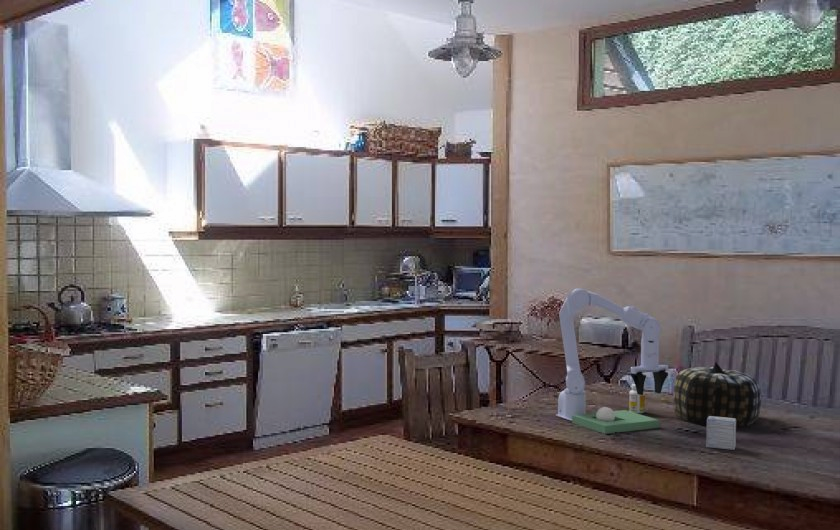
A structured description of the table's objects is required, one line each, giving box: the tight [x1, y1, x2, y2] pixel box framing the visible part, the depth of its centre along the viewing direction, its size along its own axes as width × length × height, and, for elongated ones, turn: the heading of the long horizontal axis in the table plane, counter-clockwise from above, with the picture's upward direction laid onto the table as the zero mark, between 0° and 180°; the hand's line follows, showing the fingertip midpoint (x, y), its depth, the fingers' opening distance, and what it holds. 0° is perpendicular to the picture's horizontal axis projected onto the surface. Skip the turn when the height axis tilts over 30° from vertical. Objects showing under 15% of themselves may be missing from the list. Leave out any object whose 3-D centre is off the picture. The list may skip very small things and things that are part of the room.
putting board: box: [571, 409, 660, 435], centre depth 279 cm, size 17×22×2 cm
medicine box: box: [705, 416, 737, 451], centre depth 252 cm, size 8×4×9 cm, turn 65°
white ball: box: [595, 406, 615, 422], centre depth 278 cm, size 6×6×6 cm
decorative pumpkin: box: [673, 360, 762, 427], centre depth 292 cm, size 30×29×20 cm
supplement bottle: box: [628, 383, 646, 414], centre depth 301 cm, size 5×5×10 cm
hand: (649, 393), depth 285 cm, fingers open, 7 cm apart
